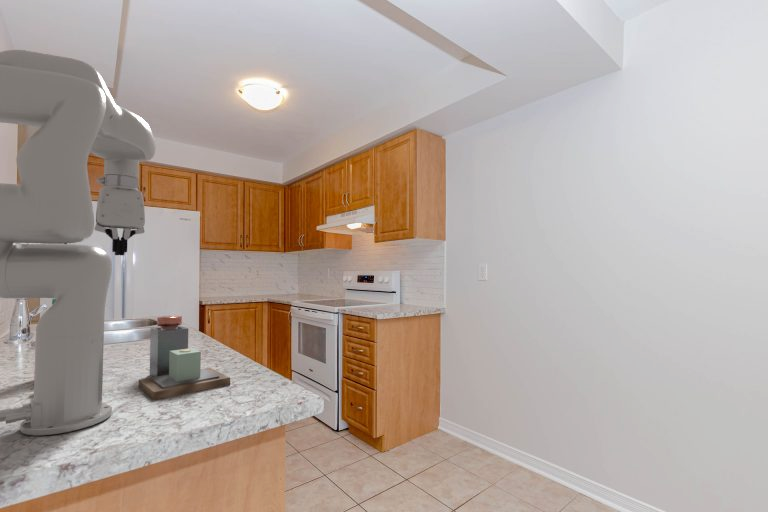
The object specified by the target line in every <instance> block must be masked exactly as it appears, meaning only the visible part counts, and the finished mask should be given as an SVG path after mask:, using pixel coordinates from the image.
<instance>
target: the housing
mask: <svg viewBox="0 0 768 512" xmlns="http://www.w3.org/2000/svg"><path fill="white" fill-rule="evenodd" d="M201 353H202V352H201V351H200V350H198V349H196V348H193V347H190V348H189V347H188V349H181V350H173V351H169V377H170V378H172V379H174V380H175V381H177V382H178V381H184V380H189V379H194V378H200V369H201V360H202V359H201V355H202V354H201Z"/></svg>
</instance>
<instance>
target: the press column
mask: <svg viewBox="0 0 768 512" xmlns="http://www.w3.org/2000/svg"><path fill="white" fill-rule="evenodd" d="M149 342H150V344H149V345H150V346H149V347H150V348H149V375H150V376H151V377H157V376H163V375H169V351H173V350H181V349H188V348H189V328H188V327H185V326H182V325H178V329H172V330H162V331H161V326H159V327H151V328H150V341H149Z"/></svg>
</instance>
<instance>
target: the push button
mask: <svg viewBox="0 0 768 512" xmlns="http://www.w3.org/2000/svg"><path fill="white" fill-rule="evenodd" d="M156 321H157V322H156V326H157V327H161V331H162V330H172V329H178V326H182V324H183V323H182V322H183V317H182V315H167V316H166V315H164V316H159V317H157V319H156Z"/></svg>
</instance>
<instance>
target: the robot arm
mask: <svg viewBox="0 0 768 512" xmlns="http://www.w3.org/2000/svg"><path fill="white" fill-rule="evenodd" d="M0 123H4V124H11V125H12V124H13V125H20V126H21V125H22V126H23V125H24V126H30V127H32V126H33V127H38V130H36V131H35V132H34V133H33V134H31V135H30V136H29V137H28V138H27V140H26V141H25V142H24V143H23V144H22V145H21V147H20V148H19V150H18V152H17V154H16V158H15V162H16V167H17V170H18V175H19V180H20V184H18V183H16V184H14V183H5V182H4V183H0V299H44V298H45V299H56V301H55V303H54V304H53V305H52V304H51V306H49V308H48V309H47V310H45V312H43V314H42V315H41V316H40V318H39V319H38V321H37V324H36V328H35V347H34V348H35V350H34V375H33V376H34V377H33V383H34V384H33V397H32V398H30V401H29V403H23V404H22V406H19V407H14V408H5V409H0V423H3V422H4V423H5V424H11V423H16V422H19V421H22V422H21V423H20V425H19V426H20V427H19V431H20V433H22V434H24V435H27V436H50V435H58V434H64V433H70V432H74V431H78V430H82V429H86V428H89V427H92V426H94V425H97V424H99V423H101V422H103V421H105V420H107V419H108V418H110V416H111V415H112V414H113V407H112V406H111V405H109V404H108V403H103V382H104V381H103V378H104V377H103V376H104V373H103V371H104V342H105V341H104V339H105V336H104V335H105V333H104V332H105V314H106V302H107V296H108V291H109V285H110V280H111V276H112V270H113V263H112V259H111V257H110V255H109V254H108V253H107V252H106V251H105V250H103V249H101V248H100V247H99V248H98V247H97V246H92V245H86V244H85V245H84V244H75V243H81V242H84V241H86V240H88V239H89V238H91V236H92V235H93V233H94V231H95V232H100V233H104V234H106V236H108V237H109V238H110V239H111V241H112V243H111V244H112V245H111V248H112V249H111V250H112V253H114V255H115V256H125V253H128V240H129V239H130V238H132V237H134V235H140V234H141V235H142V234H144V233H145V222H146V218H145V217H146V215H145V203H144V202H145V201H144V195H143V191H141V190H139V185H140V183H139V181H140V180H139V179H140V176H139V174H140V162H147V161H150V160H152V159H153V158H154V155H155V153H156V142H155V137H154V135H153V131H152V129H151V128H150V125H149V123H148V122H146V121H145V119H143V118H142V117H140V116H139V115H137V114H135V113H134V112H132V111H130V110H129V109H127V108H125V107H124V106H121V105H119V104H117V103H116V101H114V98H113V96H112V95H111V93H110V90H109V88H108V87H107V85H106V82H105V81H104V79H103V77H102V76H101V74H100V73H99V71H97V69H95V68H94V67H93V66H92V65H90V64H89V63H87V62H84V61H83V60H79V59H75V58H72V57H71V58H70V57H66V56H60V55H55V54H54V55H53V54H48V53H43V52H42V53H41V52H36V51H31V50H25V49H24V50H23V49H8V50H4V51H0ZM39 127H40V128H39ZM90 153H91V154H92V155H94V156H95V157H97V158H100V159H104V161H103V162H104V163H103V164H104V165H103V176H102V177H96V183H98V184H101V185H102V186H101V187H100V189H99V192H98V197H97V203H96V211H95V212H96V213H95V214H94V206H93V200H92V193H91V186H90V179H89V172H88V162H89V155H90ZM118 229H123V230H122V234H121V237H120V236H119V231H118Z"/></svg>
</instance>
